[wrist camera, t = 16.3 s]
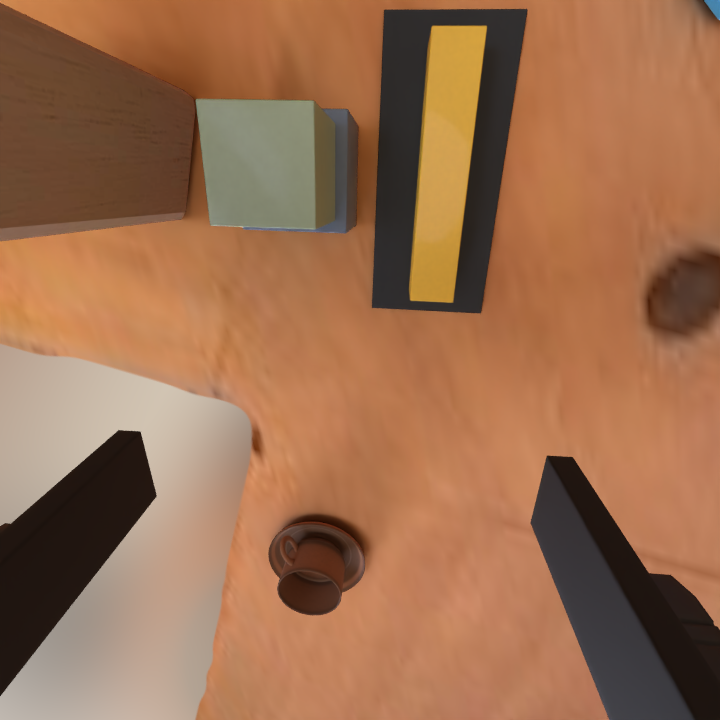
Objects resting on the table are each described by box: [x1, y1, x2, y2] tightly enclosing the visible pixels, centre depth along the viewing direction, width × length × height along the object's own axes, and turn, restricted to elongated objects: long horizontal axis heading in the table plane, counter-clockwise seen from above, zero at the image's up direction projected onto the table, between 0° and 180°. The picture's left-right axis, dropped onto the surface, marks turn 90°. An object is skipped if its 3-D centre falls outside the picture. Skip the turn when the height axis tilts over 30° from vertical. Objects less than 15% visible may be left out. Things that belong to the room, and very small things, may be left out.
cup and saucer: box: [269, 522, 365, 615], centre depth 47 cm, size 12×12×6 cm
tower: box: [196, 99, 358, 233], centre depth 27 cm, size 8×8×14 cm
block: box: [0, 3, 196, 241], centre depth 24 cm, size 10×10×20 cm
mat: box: [372, 9, 527, 313], centre depth 32 cm, size 22×10×1 cm, turn 178°
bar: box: [409, 26, 487, 303], centre depth 30 cm, size 18×4×4 cm, turn 178°
